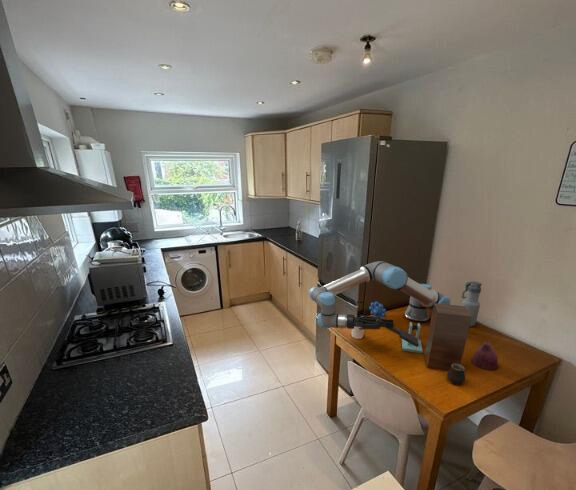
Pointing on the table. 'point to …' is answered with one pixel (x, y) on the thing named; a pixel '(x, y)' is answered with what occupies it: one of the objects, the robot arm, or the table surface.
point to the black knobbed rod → (414, 327)
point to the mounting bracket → (409, 347)
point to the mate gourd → (456, 374)
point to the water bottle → (472, 300)
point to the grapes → (377, 310)
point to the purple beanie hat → (485, 357)
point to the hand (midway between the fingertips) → (393, 323)
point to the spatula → (403, 335)
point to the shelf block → (447, 336)
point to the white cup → (357, 333)
